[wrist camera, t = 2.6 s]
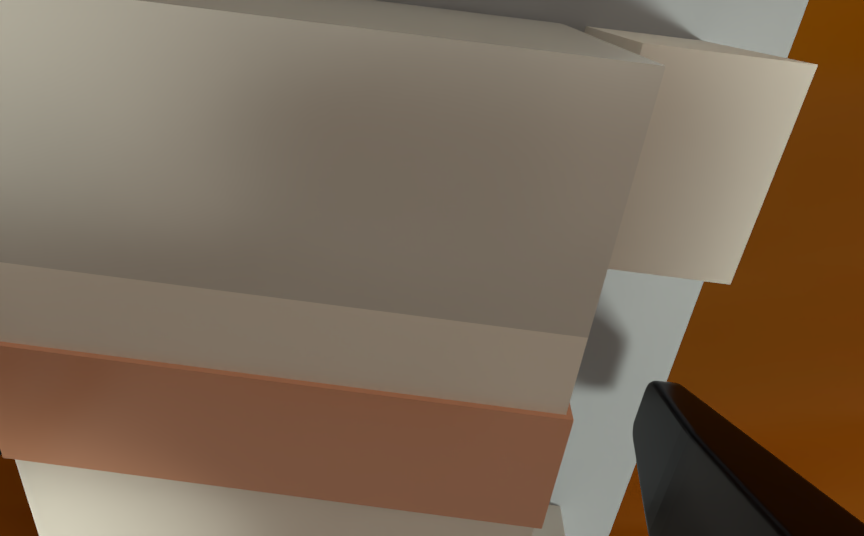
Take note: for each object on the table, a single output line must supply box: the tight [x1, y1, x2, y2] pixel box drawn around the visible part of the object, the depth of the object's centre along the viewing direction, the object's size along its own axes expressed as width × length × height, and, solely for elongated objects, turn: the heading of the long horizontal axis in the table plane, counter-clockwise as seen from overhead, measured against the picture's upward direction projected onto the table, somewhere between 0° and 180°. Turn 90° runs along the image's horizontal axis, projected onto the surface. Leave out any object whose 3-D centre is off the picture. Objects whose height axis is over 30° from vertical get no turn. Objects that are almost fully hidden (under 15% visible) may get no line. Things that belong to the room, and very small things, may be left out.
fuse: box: [0, 0, 666, 536], centre depth 7 cm, size 10×5×4 cm, turn 174°
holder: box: [376, 0, 818, 536], centre depth 8 cm, size 14×10×4 cm
